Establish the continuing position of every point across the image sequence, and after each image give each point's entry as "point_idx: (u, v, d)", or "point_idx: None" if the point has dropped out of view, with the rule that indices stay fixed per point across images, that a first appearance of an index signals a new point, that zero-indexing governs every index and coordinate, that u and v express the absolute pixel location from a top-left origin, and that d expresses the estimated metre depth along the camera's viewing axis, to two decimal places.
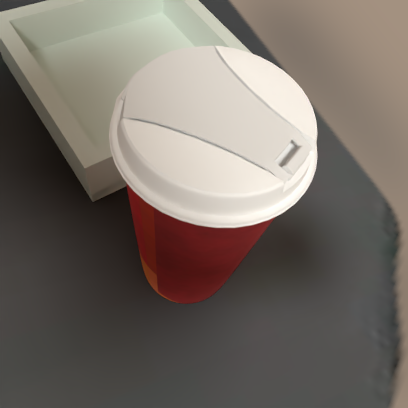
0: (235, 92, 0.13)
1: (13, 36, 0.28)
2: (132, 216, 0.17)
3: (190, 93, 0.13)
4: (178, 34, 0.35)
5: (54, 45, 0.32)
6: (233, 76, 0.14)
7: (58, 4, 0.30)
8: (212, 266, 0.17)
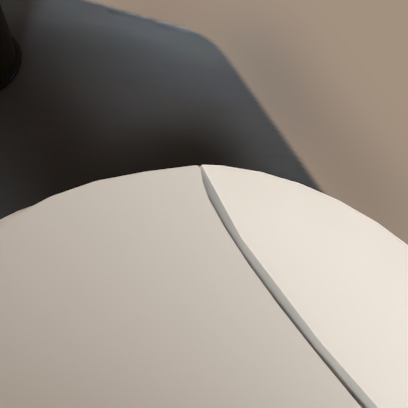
0: (273, 377, 0.04)
1: None
2: None
3: None
4: None
5: None
6: (263, 293, 0.04)
7: None
8: None
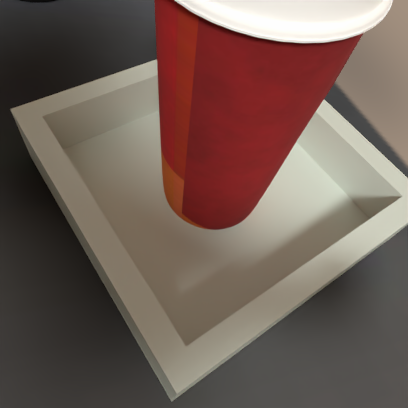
0: None
1: (50, 142, 0.19)
2: (160, 95, 0.15)
3: None
4: None
5: (100, 136, 0.23)
6: None
7: (110, 86, 0.21)
8: (255, 148, 0.14)
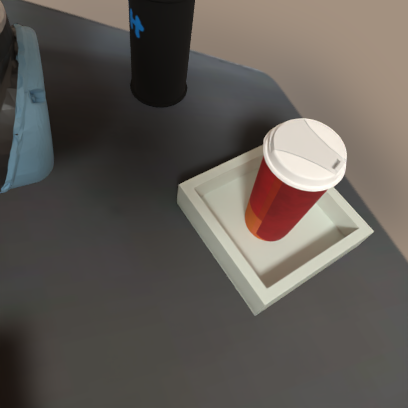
0: (314, 139, 0.34)
1: (199, 201, 0.42)
2: (258, 190, 0.38)
3: (297, 139, 0.34)
4: None
5: (211, 192, 0.46)
6: (312, 132, 0.34)
7: (220, 171, 0.45)
8: (295, 213, 0.37)
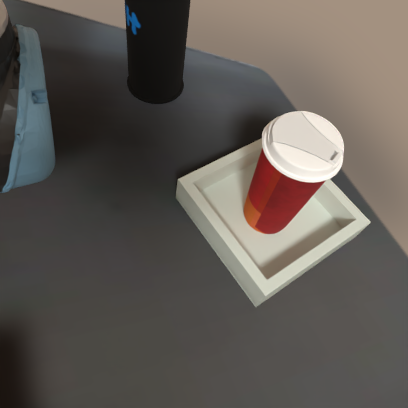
0: (312, 131, 0.35)
1: (198, 195, 0.43)
2: (257, 183, 0.38)
3: (295, 132, 0.34)
4: None
5: (209, 187, 0.47)
6: (310, 124, 0.35)
7: (219, 165, 0.45)
8: (294, 205, 0.38)
